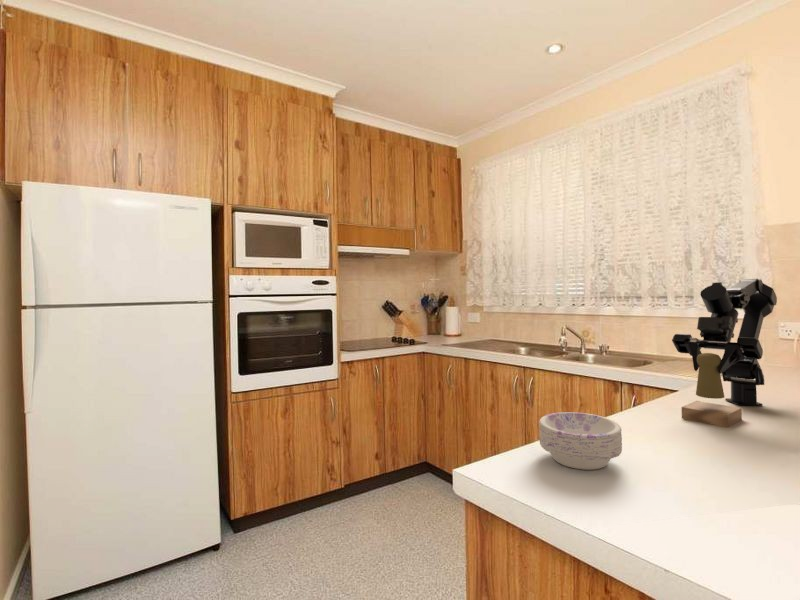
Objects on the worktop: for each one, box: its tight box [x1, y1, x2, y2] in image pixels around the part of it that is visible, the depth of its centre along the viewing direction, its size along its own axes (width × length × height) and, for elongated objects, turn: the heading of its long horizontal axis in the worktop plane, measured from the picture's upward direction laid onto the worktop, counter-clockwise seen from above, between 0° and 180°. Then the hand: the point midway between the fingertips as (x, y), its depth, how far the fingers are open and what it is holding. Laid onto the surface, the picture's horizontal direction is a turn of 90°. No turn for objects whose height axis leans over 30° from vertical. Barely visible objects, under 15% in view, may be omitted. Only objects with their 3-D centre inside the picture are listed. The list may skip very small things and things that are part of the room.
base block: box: [681, 400, 743, 428], centre depth 109 cm, size 10×10×3 cm
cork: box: [695, 352, 725, 399], centre depth 109 cm, size 6×6×11 cm
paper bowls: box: [538, 411, 623, 471], centre depth 84 cm, size 15×15×8 cm
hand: (707, 371), depth 108 cm, fingers closed on cork, 5 cm apart
